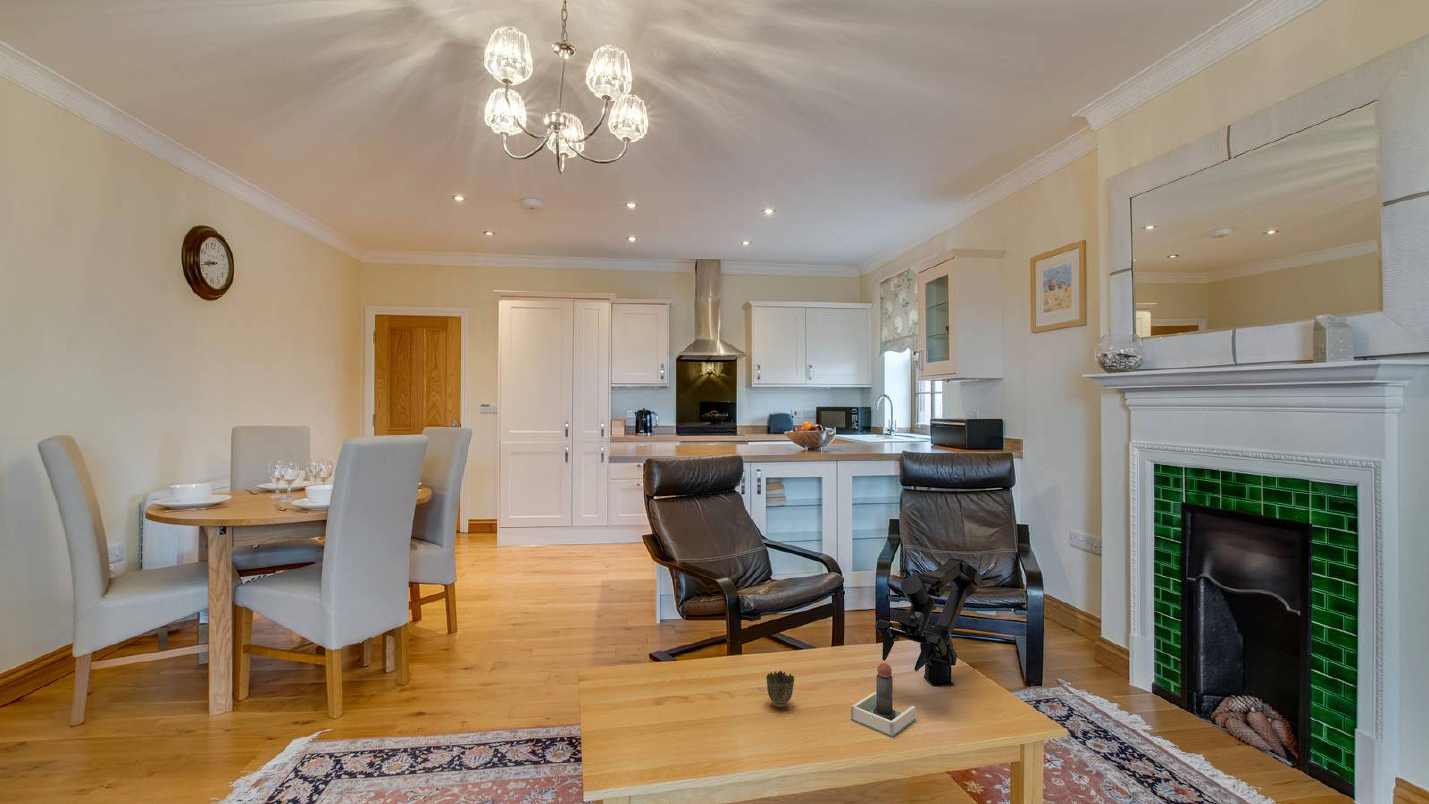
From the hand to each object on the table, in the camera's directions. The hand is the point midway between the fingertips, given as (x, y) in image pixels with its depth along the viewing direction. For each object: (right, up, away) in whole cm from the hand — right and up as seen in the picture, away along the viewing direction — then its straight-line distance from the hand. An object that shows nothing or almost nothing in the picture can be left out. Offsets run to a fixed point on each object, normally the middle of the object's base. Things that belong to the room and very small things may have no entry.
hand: (899, 665), depth 166 cm
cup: (-32, -12, +1) cm, 34 cm away
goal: (-6, -12, -6) cm, 14 cm away
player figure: (-5, -11, -5) cm, 13 cm away
